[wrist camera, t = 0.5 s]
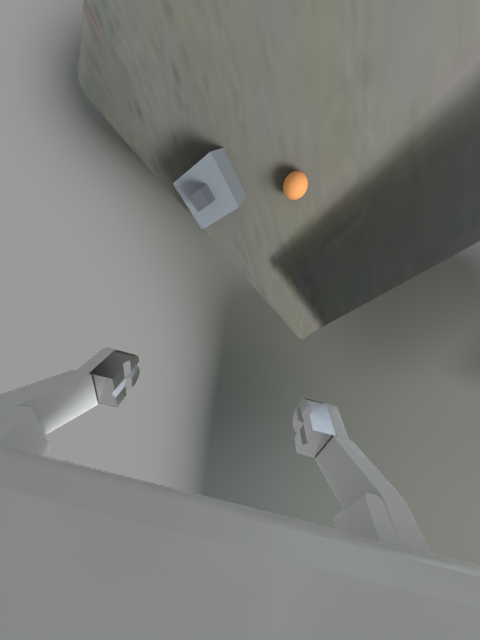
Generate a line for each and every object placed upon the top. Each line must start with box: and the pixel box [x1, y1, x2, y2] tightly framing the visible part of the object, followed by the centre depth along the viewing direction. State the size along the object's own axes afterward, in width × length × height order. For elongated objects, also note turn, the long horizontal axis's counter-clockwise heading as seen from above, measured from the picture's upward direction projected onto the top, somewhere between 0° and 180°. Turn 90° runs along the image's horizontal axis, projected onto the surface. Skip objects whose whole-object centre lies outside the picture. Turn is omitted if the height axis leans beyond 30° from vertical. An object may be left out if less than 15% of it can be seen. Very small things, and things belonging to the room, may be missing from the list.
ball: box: [283, 171, 308, 200], centre depth 41 cm, size 5×5×5 cm
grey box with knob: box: [173, 148, 247, 230], centre depth 42 cm, size 10×10×13 cm
